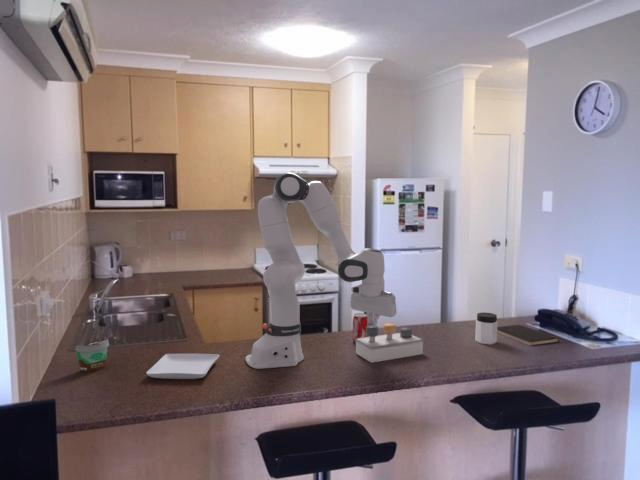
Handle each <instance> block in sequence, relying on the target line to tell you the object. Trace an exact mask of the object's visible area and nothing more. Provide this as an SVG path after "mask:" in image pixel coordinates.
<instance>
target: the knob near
mask: <svg viewBox="0 0 640 480" xmlns="http://www.w3.org/2000/svg"><path fill="white" fill-rule="evenodd" d="M366 335H367V336H369V342H370V343H375V336H379V326H377V325H369V326H367V327H366Z"/></svg>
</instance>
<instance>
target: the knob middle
mask: <svg viewBox="0 0 640 480" xmlns="http://www.w3.org/2000/svg"><path fill="white" fill-rule="evenodd" d="M396 325H397V324H394V323H389V322H388V323H384V324H383V330H382V331H383V334H385V335H386V334H387V340H392V334H395V333H397V332H396V331H397V328H396V327H397V326H396Z"/></svg>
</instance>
